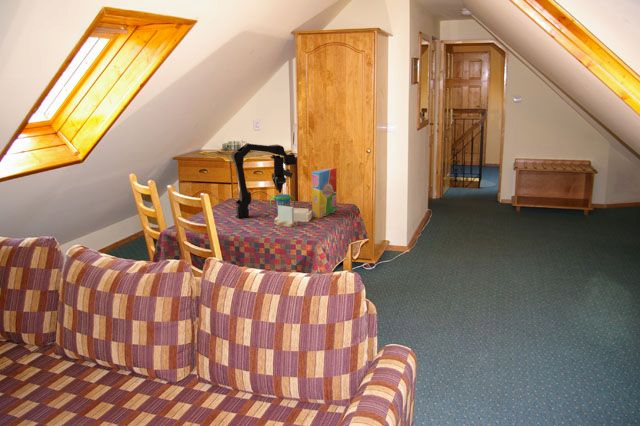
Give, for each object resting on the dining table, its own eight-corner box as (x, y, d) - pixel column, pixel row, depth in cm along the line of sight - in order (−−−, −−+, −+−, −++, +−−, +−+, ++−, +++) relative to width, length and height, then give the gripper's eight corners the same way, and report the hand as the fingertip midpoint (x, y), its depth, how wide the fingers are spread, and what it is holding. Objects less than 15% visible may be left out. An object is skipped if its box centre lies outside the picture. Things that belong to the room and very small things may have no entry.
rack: (274, 220, 333) (274, 212, 332) (279, 215, 344) (279, 207, 343) (308, 221, 330) (308, 213, 328) (312, 216, 341) (312, 208, 340)
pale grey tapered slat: (278, 222, 326) (277, 205, 323) (280, 222, 327) (279, 205, 325) (292, 225, 320) (291, 207, 318) (294, 224, 321) (293, 207, 319)
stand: (274, 224, 325) (274, 220, 324) (281, 222, 329) (281, 218, 329) (291, 227, 318) (291, 223, 317) (297, 224, 323) (297, 221, 322)
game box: (319, 218, 337) (319, 172, 331) (311, 217, 340) (311, 172, 334) (336, 211, 355) (336, 167, 348) (329, 210, 357) (328, 167, 351)
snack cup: (294, 209, 361) (294, 193, 359) (296, 213, 351) (296, 196, 349) (269, 210, 359) (269, 194, 357) (270, 214, 349) (270, 197, 347)
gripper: (294, 167, 337) (294, 193, 340) (289, 163, 355) (289, 188, 358) (275, 168, 334) (276, 194, 338) (271, 163, 352) (271, 188, 356)
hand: (278, 191), depth 347 cm, fingers open, 9 cm apart
